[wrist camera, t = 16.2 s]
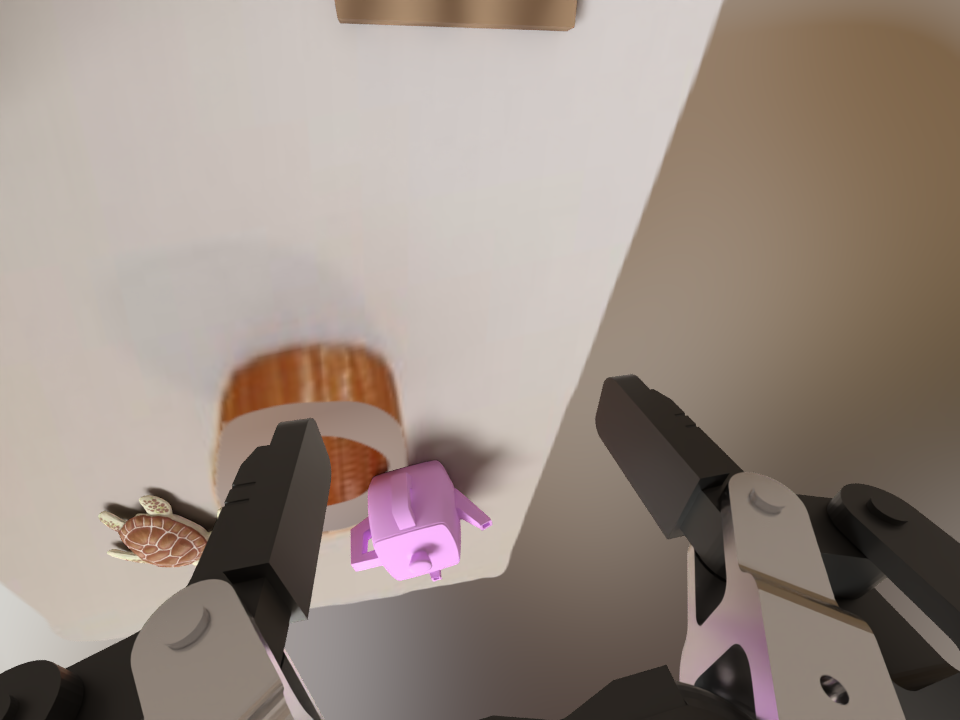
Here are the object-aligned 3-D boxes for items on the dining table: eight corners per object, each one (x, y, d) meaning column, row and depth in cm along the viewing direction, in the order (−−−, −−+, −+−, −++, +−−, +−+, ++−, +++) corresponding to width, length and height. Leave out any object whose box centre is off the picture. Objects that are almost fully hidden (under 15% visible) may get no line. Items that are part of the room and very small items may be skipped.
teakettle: (393, 444, 51) (393, 522, 41) (485, 472, 59) (505, 543, 49) (343, 512, 57) (333, 595, 47) (433, 529, 65) (440, 604, 55)
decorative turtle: (165, 570, 57) (148, 605, 53) (64, 519, 47) (34, 557, 43) (271, 530, 57) (261, 562, 53) (191, 471, 47) (172, 504, 43)
